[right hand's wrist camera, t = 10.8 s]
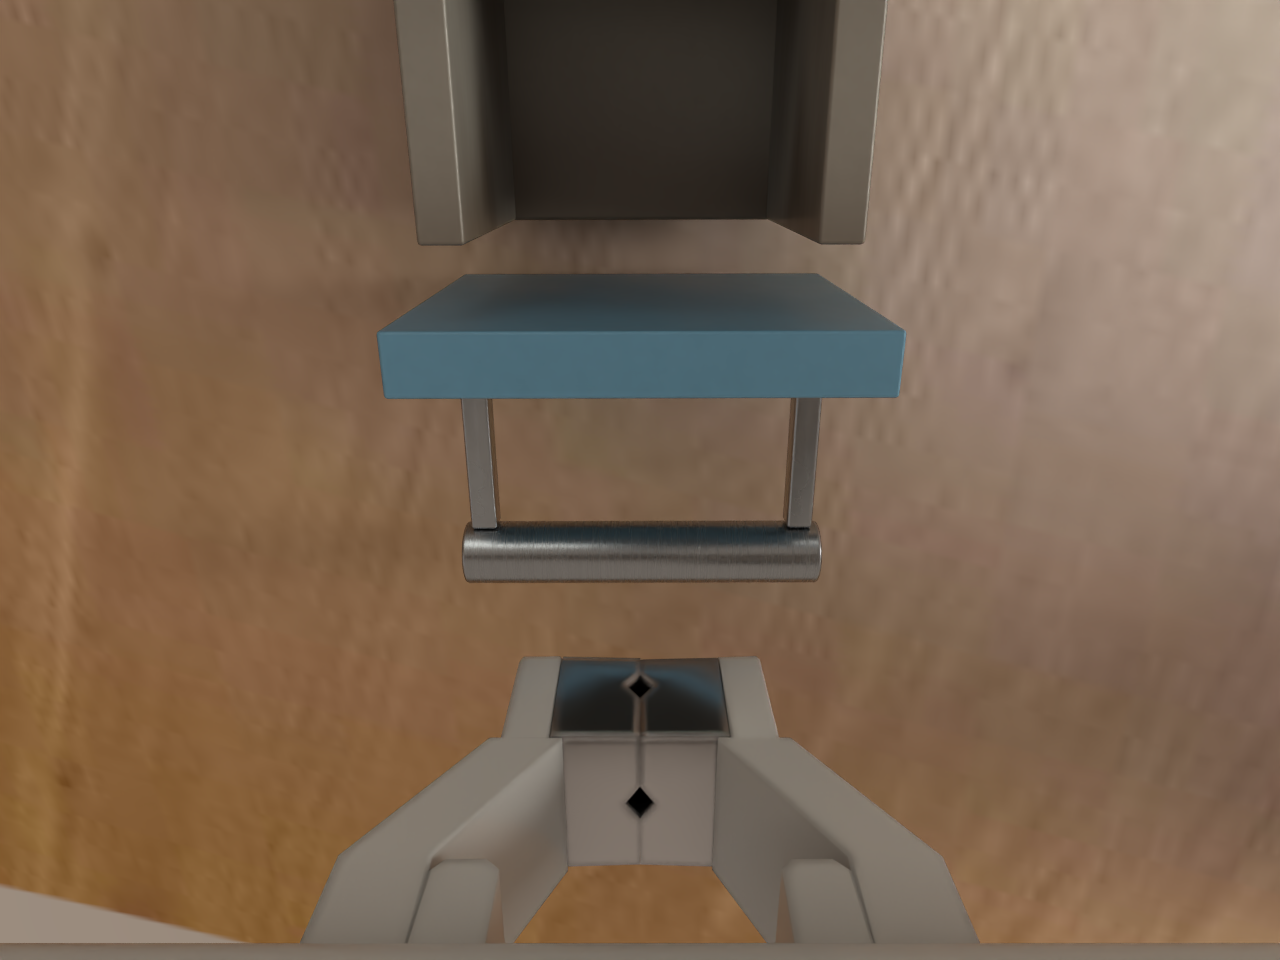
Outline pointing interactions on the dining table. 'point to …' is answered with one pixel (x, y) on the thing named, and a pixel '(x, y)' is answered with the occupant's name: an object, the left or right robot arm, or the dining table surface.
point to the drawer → (641, 190)
